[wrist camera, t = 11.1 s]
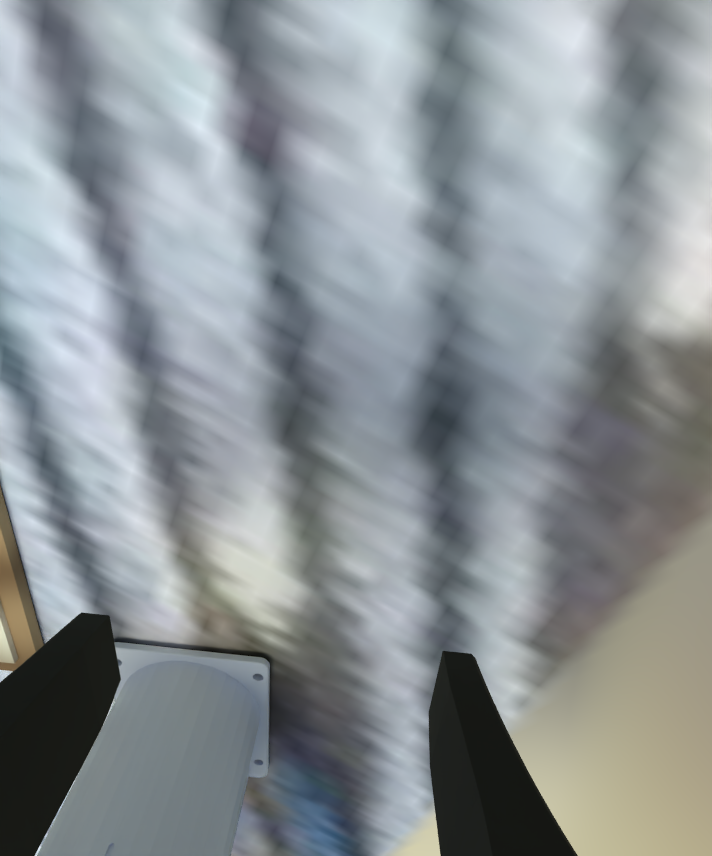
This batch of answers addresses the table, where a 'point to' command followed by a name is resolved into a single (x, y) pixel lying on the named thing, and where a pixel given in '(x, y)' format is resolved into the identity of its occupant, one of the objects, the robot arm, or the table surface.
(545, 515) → the table surface
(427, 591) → the table surface
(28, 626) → the clipboard
